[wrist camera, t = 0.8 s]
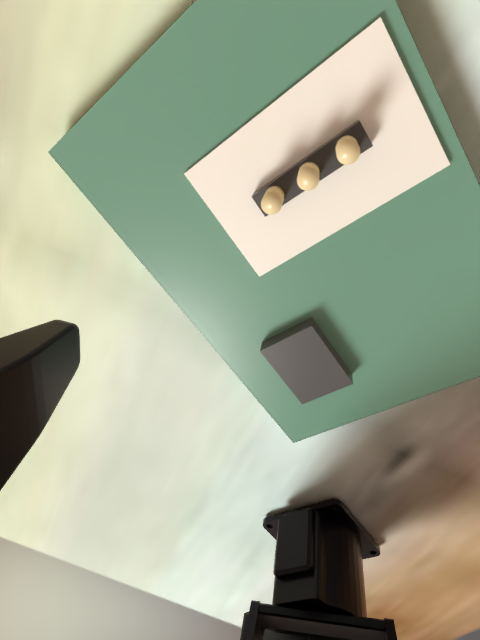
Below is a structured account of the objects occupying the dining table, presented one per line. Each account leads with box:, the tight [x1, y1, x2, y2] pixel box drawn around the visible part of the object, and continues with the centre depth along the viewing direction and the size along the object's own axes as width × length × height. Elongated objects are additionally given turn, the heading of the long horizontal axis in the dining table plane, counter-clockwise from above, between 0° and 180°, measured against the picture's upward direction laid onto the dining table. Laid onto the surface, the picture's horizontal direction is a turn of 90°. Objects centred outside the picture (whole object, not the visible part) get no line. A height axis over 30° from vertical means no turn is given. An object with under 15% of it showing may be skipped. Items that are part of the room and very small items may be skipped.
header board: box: [49, 0, 480, 443], centre depth 18 cm, size 20×14×3 cm
